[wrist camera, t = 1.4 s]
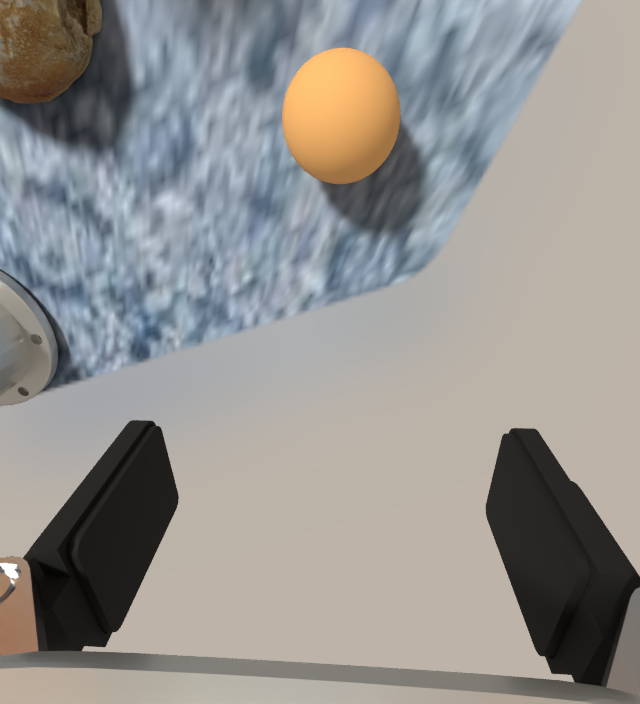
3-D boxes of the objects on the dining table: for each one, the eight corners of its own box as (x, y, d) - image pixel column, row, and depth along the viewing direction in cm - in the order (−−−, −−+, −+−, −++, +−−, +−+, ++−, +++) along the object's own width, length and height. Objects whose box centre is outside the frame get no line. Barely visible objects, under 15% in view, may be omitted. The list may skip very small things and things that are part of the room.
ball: (292, 179, 25) (276, 189, 20) (288, 60, 22) (269, 35, 17) (389, 179, 24) (401, 189, 19) (398, 59, 22) (414, 32, 16)
